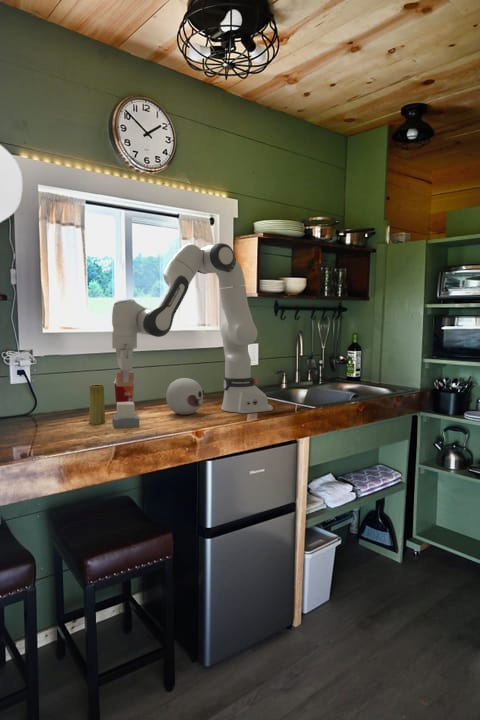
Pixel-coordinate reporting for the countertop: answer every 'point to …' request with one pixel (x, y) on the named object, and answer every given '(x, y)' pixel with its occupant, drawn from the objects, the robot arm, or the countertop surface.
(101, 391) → the vase
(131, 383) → the brick
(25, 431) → the countertop surface
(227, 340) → the robot arm
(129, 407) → the brick
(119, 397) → the coffee cup
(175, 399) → the toy
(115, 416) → the base
